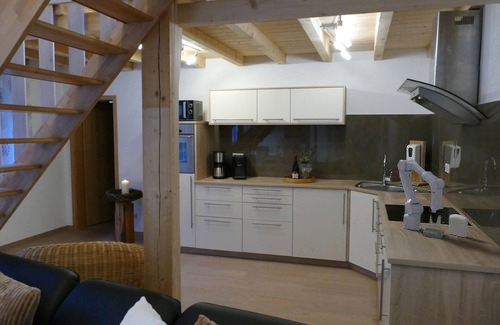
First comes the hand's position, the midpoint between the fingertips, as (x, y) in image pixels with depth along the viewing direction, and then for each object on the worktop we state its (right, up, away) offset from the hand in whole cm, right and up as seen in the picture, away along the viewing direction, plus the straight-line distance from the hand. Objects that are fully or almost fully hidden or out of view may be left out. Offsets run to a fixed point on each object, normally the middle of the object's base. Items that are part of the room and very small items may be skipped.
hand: (435, 221), depth 226 cm
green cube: (0, -1, 0) cm, 1 cm away
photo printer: (+14, -8, +1) cm, 16 cm away
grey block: (0, -9, +2) cm, 9 cm away
